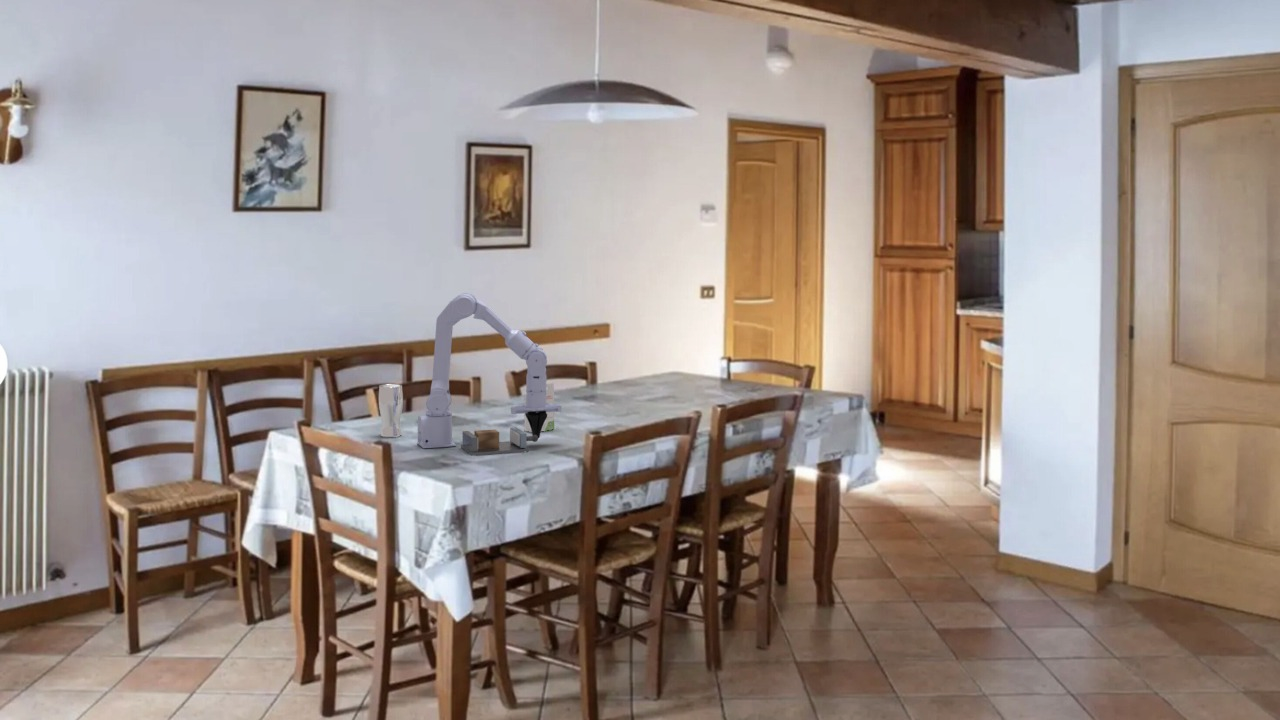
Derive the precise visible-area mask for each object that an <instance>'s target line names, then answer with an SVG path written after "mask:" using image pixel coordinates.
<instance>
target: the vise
mask: <svg viewBox="0 0 1280 720" xmlns="http://www.w3.org/2000/svg"><path fill="white" fill-rule="evenodd" d="M461 447H462V448H461ZM460 448H461V449H462V450H464V451H465V450H466V451H465V452H467V454H469V453H470V454H469V455H471V456H472V455H476V456H485V455H487V456H488V455H501V454H502V453H504V454H513V453H512V452H518V453H525V452H524V451H528V452H529V448H528V447H526V448H520V447H519V446H517V445H515V444H514V443H512V442H511V441H510V440H508V441H499V448H490V449H478V437H476V436H475V435H474V434H473V433H472V432H470V431H469V430H462V444H460Z"/></svg>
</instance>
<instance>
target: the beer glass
mask: <svg viewBox="0 0 1280 720" xmlns="http://www.w3.org/2000/svg"><path fill="white" fill-rule="evenodd" d="M378 388H379V389H378V407H379V413H380V419H381V431H380V437H381V436H383V437H382V438H386V437H394V438H398V437H397V436H400V435H401V436H402V428H401V418H402V413H403V412H402V411H403V407H404V393H403V385H402V384H397V383H386V384H385V383H384V384H380V385H379V386H378ZM401 436H400V437H401Z"/></svg>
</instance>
